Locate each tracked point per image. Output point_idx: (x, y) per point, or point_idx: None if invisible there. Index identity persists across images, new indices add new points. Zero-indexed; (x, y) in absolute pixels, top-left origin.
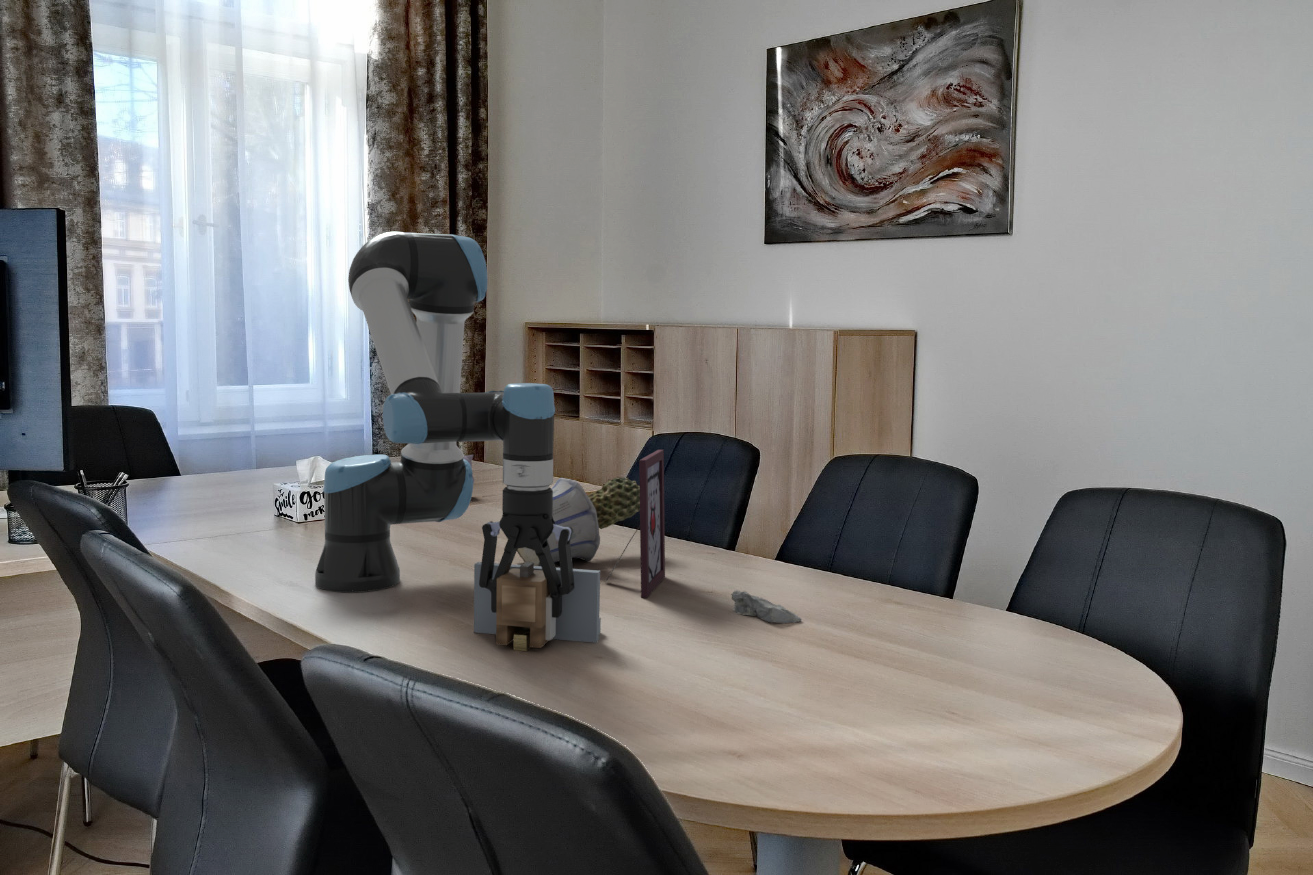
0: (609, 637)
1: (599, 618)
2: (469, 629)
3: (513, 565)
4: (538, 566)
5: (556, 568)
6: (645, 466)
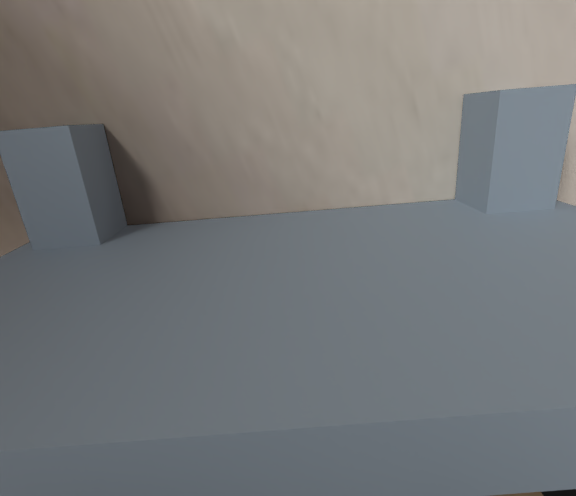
0: (569, 142)
1: (571, 99)
2: (20, 235)
3: (34, 489)
4: (321, 433)
5: (553, 444)
6: None
